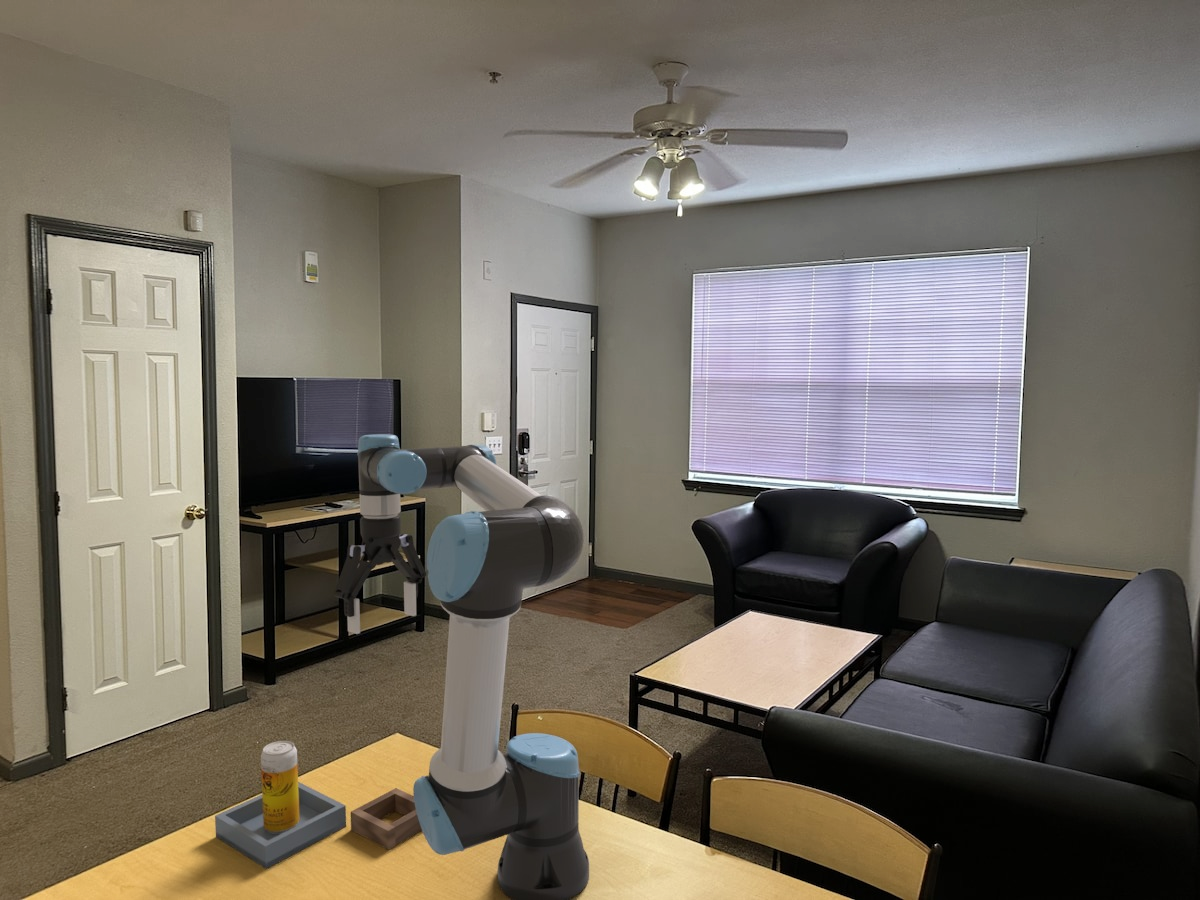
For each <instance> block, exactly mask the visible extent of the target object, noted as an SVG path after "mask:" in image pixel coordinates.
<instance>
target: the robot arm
mask: <svg viewBox="0 0 1200 900" xmlns="http://www.w3.org/2000/svg"><path fill="white" fill-rule="evenodd" d="M356 454H357V457H358V483H359V485H358V488H359V513H360V515H362V516H361V518H360V519H359V526H360V527H359V529H360V536H361V538H362V542H361V545H359V544H358V545H355V544H348V546H347V550H346V551H347V553H346V558H345V561H344V564H343V568H342V570H341V573H340V575H339V578H338V580H337V583H336V586H335V588H334V592H333V596H334V598H335V597H336V598H339V599H342V600H343V612H344V613H343V614H344V616H345V617H347V619H346V620H347V632H349V633H352V634H356V635H358V634H361V617H360V614H361V613H360V609H361V608H360V598H357V595H358V594H359V592H360V591H361V589H362V587H363V586H364V584H365V583H366V580H367V578H368V576H369V575H370V573H371V572H372V570H373V569H375V568H376V566H377V565H378V566H380V565H383V564H386V563H387V564H389V563H392V564H393V566H395V567H396V568H397V570H398V571H399V572H400V573H401V575H402V576H403V577H404V578H405V579H406V580H407V581H403V601H404V602H403V607H404V608H403V609H404V612H403V613H404V615H407V616H410V617H416V616H417V599H418V597H419V584H422V582H423V578H426V576H427V580H428V585H429V588H430V591H431V593H432V594H433V596H434V598H435V599H437V600H439V603H440V606H441V608H442V609H443V610H444V611H445V612H447V614H449V622H448V639H447V651H446V653H447V654H446V668H445V682H444V694H443V695H444V699H443V710H442V713H443V714H442V724H441V725H442V726H441V729H442V730H441V739H440V740H441V742H440V748H438V749H437V750H436V751H435V753H433V754H432V756H431V759H430V761H429V768H428V769H429V770H428V775H421V777H419V778H417V779H416V780H415V782H414V784H413V787H412V789H413V790H412V791H413V796H414V802H415V807H416V812H417V816H418V819H419V823H420V826H421V829H422V830H421V831H422V834H423V836H424V838H425V841H426V843H427V844H428V845H429V847H430V849H431V850H432V851H433V852H434V853H435V854H437V855H439V856H440V855H441V856H445V855H450V854H453V853H454V854H455V853H457V852H464V851H465V850H467V849H470V848H472V847H477V846H479V845H481V844H485V843H487V842H490V841H493V840H496V839H499V838H502V837H505V836H506V838H505V841H504V844H503V848H502V851H501V853H500V858H499V860H498V864H497V883H498V886H499V888H500V890H501V891H502V892H503V893H504V894H505V895H506V896H507V897H509V898H510V899H512V900H570V899H573V898H575V897H576V896H578V894H580V893H581V892H582V891H583V890H584V889H585V888H586V886H587V885H588V883H589V880H590V861H589V857H588V853H587V852H586V850H585V848H584V843H583V840H582V836H581V834H580V829H579V815H580V814H579V804H580V803H579V802H580V801H579V795H580V794H579V790H580V789H579V787H580V783H579V779H580V778H579V777H580V767H579V764H580V763H579V756H578V752H577V749H576V747H574V745H573V744H572V743H570V742H569V741H568V740H566V739H564V738H562V737H559V736H557V735H553V734H552V735H551V734H548V733H540V732H530V733H528V732H527V733H523V734H522V733H521V734H517V735H516V736H513V737H511V739H510V740H508V742H507V744H506V747H505V750H506V751H505V752H506V753H505V754H503V753H502V751H500V750H499V739H500V731H501V718H502V708H503V697H504V683H505V675H506V674H505V673H506V662H507V650H508V640H509V630H510V629H509V628H510V618H512V617H513V616H515V615H516V614H517V613H518V612H519V611H520V610H521V607H522V602H523V592H524V590H525V589H530V588H531V589H532V588H535V587H541V586H548V585H550V584H553V583H555V582H558V581H559V580H561V579H562V578H564V577H565V576H567V575H568V574H569V573H570V572H571V571H573V569H574V567H575V566H576V565H577V563H578V561H579V559H580V557H581V554H582V551H583V547H584V537H585V536H584V529H583V526H582V523H581V520H580V519H579V517H578V515H577V514H576V512H575V511H574V509H572V508H571V507H570V506H569V505H567V504H566V503H565V502H564V501H562V500H561V499H559V498H558V497H555V496H554V495H551V494H541V493H539V492H537V491H536V490H534V489H532V488H531V487H530V486H528V485H526V484H525V483H524V482H522V481H521V480H519V479H518V478H516V477H515V476H513V475H512V474H511V473H509V472H508V471H506V470H504V469H503V468H502V467H500V466H498V465H497V459H496V456H495V454H494V453H493V450H492V449H491V448H490V447H489V446H488V445H477V444H469V445H468V444H467V445H457V446H443V447H442V446H441V447H439V446H438V447H418V448H401V447H400V442H399V438H398V436H397V435H395V434H387V433H385V434H384V433H382V434H381V433H378V434H365V435H362V436H360V437H359V439H358V446H357V453H356ZM440 488H457V489H459V491H461V492H462V493H464V494H465V495H466V496H467V497H468V498H470V499H471V500H472V501H474V503H476V504H477V505H478V506H480V507H481V508H482V509H483V510H484V511H477V510H472V511H471V510H470V511H467V512H465V513H461V514H454V515H449V516H447V517H445V518H443V519H442V520H440V523H438V524H436V526H435V528H434V530H433V532H432V534H431V537H430V540H429V541H428V543H429V544H428V548H427V553H426V570H428V574H427V572H426V570H425V567H424V565H423V562H422V561H421V559H420V556H419V555H418V552H417V550H416V547H415V545H414V537H413V535H411V534H407V533H406V534H405V533H402V526H401V525H402V522H401V521H402V519H401V516H400V515H399V514H400V513H401V512H402V510H401V509H402V508H401V494H402V495H404V494H405V495H407V494H412V493H414V492H416V491H418V490H428V489H440ZM399 548H401V550H402V552H403V554H404V556H405V558H404V556H403V555H402V554H401V552H400V551H399ZM405 559H406V560H405Z"/></svg>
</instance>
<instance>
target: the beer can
mask: <svg viewBox="0 0 1200 900" xmlns="http://www.w3.org/2000/svg"><path fill="white" fill-rule="evenodd" d="M260 768H261V769H260V770H261V771H260V772H261V775H260V776H261V792H262V793H261V795H262V799H263V823H264V828H265V829H266V830H267V831H268V832H269V833H272V834H282V833H284V832H286V831H288V830H290V829H292V828H294V827H295V826H296V824H297V823H298V822H299V792H298V782H299V774H298V773H299V772H298V771H299V769H298V768H299V767H298V749H297V748H296V746H295V743H294V742H293V741H290V740H277V741H274V742H270V743H268V744H266V745H265V746H264V747H262V752H261V754H260Z"/></svg>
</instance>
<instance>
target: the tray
mask: <svg viewBox="0 0 1200 900" xmlns="http://www.w3.org/2000/svg"><path fill="white" fill-rule="evenodd" d="M298 792H299V822H298V823H297V824H296V826H295V827H294V828H292V829H290V830H288V831H286V832H284V833H282V834H272V833H269V832H268V831H267V830H266V829H265V828H264V823H263V799H262V794H260V795H258V796H255V797H252V798H251V799H249V800H246V801H245V802H242V803H240V804H238V805H236V806H233V807H232V808H229V809H226V810H225V811H222V812H220V813H218V814H216V815H214V823H215V824H214V825H215V837H216V838H217V839H218V840H220V841H222V842H223V843H225V844H226V845H228V847H229V846H230V848H232V849H235V851H237V852H239V853H241V854H242V855H244V856H246V857H247V858H248V859H250V860H252V862H255V863H256V864H258V865H259V866H261V867H263V868H264V869H266V870H268V869H269V868H271V867H273V866H274V865H277V864H278V863H280V862H282V861H284V860H286V859H288V858H290V857H291V856H293V855H296V854H297V853H299V852H301V851H303V850H304V849H306V848H308V847H310V846H312V845H314V844H316V843H318V842H319V841H322V840H323V839H325V838H327V837H329V836H331V835H332V834H334V833H337V832H338V831H340V830H342V829H343V828H345V827H347V812H346V811H347V809H346V808H347V806H346V805H345V804H343V803H341V802H340V801H338V800H335V799H334V798H331V797H329V796H328V795H325V794H323V793H322V792H320V791H318V790H316V789H313V788H312V787H310V786H307V785H305V784H303V783H301V782H299V781H298Z"/></svg>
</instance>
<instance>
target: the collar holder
mask: <svg viewBox="0 0 1200 900" xmlns="http://www.w3.org/2000/svg"><path fill="white" fill-rule="evenodd" d="M394 812H396V813H398V814H399V815H403V816H402V817H400V818H398V819H397V820H395V821H393V822H391V823H388V822H386V821H383V820H382V819H384V818H385V817H388V816H390V815H392V814H393V813H394ZM350 830H351V831H352V832H354V833H356V834H358V835H360V836H362V837H364V838H365V839H367V840H370V841H371V842H372V843H374V844H376V845H379V846H380V847H382V848H384V849H386V850H388V851H389V850H391V849H393V848H394V847H396V846H397V845H400V844H401V843H402V842H403V843H404V841H406V840H408V839H409V838H412V837H413V836H415V835H417V834H418V833H420V832H421V831H422V829H421V826H420V823H419V819H418V816H417V812H416V807H415V802H414V795H412V794H410V793H407V792H406V791H403V790H401V789H399V788H397V787H396V788H394V789H391V790H389V791H388V792H386V793H384V794H382V795H380V796H378V797H376V798H374V799H372V800H371V801H368V802H367V803H365V804H362V805H361V806H359V807H356V808H355V809H353V810H352V811H350Z"/></svg>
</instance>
